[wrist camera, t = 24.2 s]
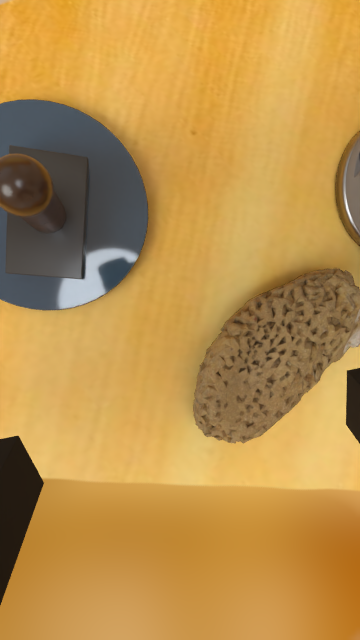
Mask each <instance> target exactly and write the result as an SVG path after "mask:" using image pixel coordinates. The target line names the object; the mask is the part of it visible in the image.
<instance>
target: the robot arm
mask: <svg viewBox="0 0 360 640" xmlns="http://www.w3.org/2000/svg"><path fill="white" fill-rule="evenodd" d="M336 201H337V207H338V211H339V214H340V217H341V220H342V222H343V224H344V226H345V228H346V230H347V231H348V233H349V235H350V236H351V237H352V238H353V240H354V241H355V242H356V243H357V244H359V245H360V131H359V132H358V133H357V134H356V135H355V136H354V137H353V139H352V140H351V141H350V143H349V144H348V146H347V147H346V149H345V151H344V153H343V155H342V158H341V160H340V163H339V167H338V171H337V176H336ZM346 425H347V426H348V428H349V429H350V431H351V432H352V433H353V435H354V436H355V438H356V439H357V440H358V442H359V443H360V368H358V369H353V370H348V371H347V403H346ZM43 484H44V483H43V480H42V478H41V477H40V475H39V473H38V471H37V469H36V467H35V465H34V464H33V462H32V460H31V458H30V456H29V454H28V453H27V451H26V449H25V447H24V445H23V443H22V441H21V440H20V438H19V436H14V437H9V438H4V439H0V605H1V602H2V599H3V596H4V593H5V590H6V588H7V585H8V582H9V579H10V577H11V573H12V571H13V568H14V565H15V563H16V560H17V557H18V554H19V551H20V548H21V546H22V543H23V540H24V537H25V534H26V531H27V529H28V526H29V523H30V520H31V518H32V515H33V512H34V509H35V506H36V503H37V501H38V497H39V495H40V492H41V489H42V487H43Z"/></svg>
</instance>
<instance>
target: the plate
mask: <svg viewBox="0 0 360 640" xmlns="http://www.w3.org/2000/svg"><path fill="white" fill-rule="evenodd" d="M9 145H12V146H18V147H25V148H31V149H38V150H44V151H50V152H57V153H63V154H70V155H76V156H83V157H88V162H89V183H88V203H87V223H86V243H85V262H84V279H72V278H59V277H47V276H34V275H21V274H9V273H6V272H5V270H6V234H7V212H6V211H5V210H3V209H2V208H1V207H0V299H1V300H3V301H5V302H8V303H11V304H13V305H16V306H20V307H25V308H29V309H36V310H62V309H69V308H74V307H77V306H81V305H84V304H87V303H89V302H91V301H94V300H96V299H98V298H100V297H101V296H103V295H105V294H106V293H108V292H109V291H110V290H112V289H113V288H114V287H116V286H117V285H118V284H119V283H120V282H121V281H122V280H123V279H124V278H125V277H126V275H127V274H128V273H129V271H130V270H131V269H132V267H133V266H134V264H135V262H136V260H137V259H138V257H139V255H140V252H141V250H142V247H143V244H144V241H145V237H146V233H147V225H148V203H147V196H146V191H145V187H144V184H143V180H142V178H141V175H140V173H139V170H138V168H137V166H136V164H135V162H134V161H133V159H132V157H131V155H130V154H129V153H128V151H127V150H126V148H125V147H124V146H123V144H122V143H121V142H120V141H119V140H118V139H117V138H116V137H115V135H114V134H113V133H111V132H110V131H109V130H108V129H107V128H106V127H105V126H103V125H102V124H101V123H99V122H98V121H96V120H95V119H93V118H92V117H90V116H89V115H87V114H85V113H83V112H81V111H79V110H77V109H74V108H71V107H69V106H66V105H63V104H59V103H55V102H51V101H44V100H16V101H10V102H4V103H1V104H0V158H1V157H3V156H5V155H8V154H9Z"/></svg>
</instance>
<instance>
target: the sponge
mask: <svg viewBox="0 0 360 640" xmlns="http://www.w3.org/2000/svg"><path fill="white" fill-rule="evenodd" d="M221 331H222V333H221V334H219V335H218V337H217V338H216V339H215V341H214V342H213V343H212V345H211V346H210V347H209V348H208V349H207V352H206V356H205V359H204V361H203V363H202V364H201V365H200V370H199V374H198V376H197V385H196V390H195V399H194V404H193V411H194V418H195V421H196V425H197V426H198V428H199V429H201V430H202V431H203V433H204V435H205V436H207V437H211V436H212V437H215V438H216V439H218V440H219V441H220V440H222V439H223V440H225V441H227V442H229V443H236V441H238V442H239V441H241V442H242V443H245V442H247V441H249V440H251V439H253V438H256V437H259V436H261V435H262V434H263V433H265V432H266V431H267V430H268V429H269V428H271V427H272V426H273V425H274V424H275V423H276V422H277V421H278V420H280V419H281V418H282V417H283V416H284V415H285V414H286V413H288V412H289V411H290V410H291V409H292V408H293V407H294V406H295V405H296V404H297V403H298V402H299V401H300V400H301V397H302V396H303V395H304V393H306V392H308V391H309V390H310V389H311V388H312V387H313V386H314V385H315V384H317V383H318V381H319V380H320V378H321V375H322V373H323V372H324V370H325V369H326V368H327V367H328V366H329V365H330V364H331V363H332V362H336V361H338V360H340V358H341V357H342V356H343V355H344V354H345V352H346V351H347V350H348V349H349V348H350V347H358V346H359V344H360V290H359V287H357V286H355V284H354V280H353V277H352V275H351V274H350V273H349V272H347V271H346V270H345V271H344V272H343V271H342V270H340V269H338V268H333V269H324V270H317V271H313V272H310V273H307V274H304V275H301V276H299V277H298V278H296V279H295V280H293V281H291V282H289V283H287V284H285V285H283V286H280V287H277V288H274V289H273V290H271V291H268V292H265V293H262V294H260V295H258V296H256V297H254V298H252V299H250V300H249V301H248V302H247V303H246V304H245V305H244V306H243V307H242V308H241V309H240V310H239V311H238V312H236V313H235V314H234V315H233V316H232V317H231V318H230V319H229V320H228V321H227V322H225V324H224V326H223V327H222V329H221Z"/></svg>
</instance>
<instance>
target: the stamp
mask: <svg viewBox="0 0 360 640" xmlns="http://www.w3.org/2000/svg"><path fill="white" fill-rule="evenodd" d="M88 183H89V162H88V157H83V156H76V155H70V154H63V153H57V152H50V151H44V150H38V149H31V148H25V147H18V146H12V145H9V154H8V155H5V156H3V157H1V158H0V207H1V208H2V209H3V210H5V211H6V212H7V234H6V270H5V272H6V273H9V274H21V275H34V276H47V277H59V278H72V279H84V262H85V243H86V223H87V203H88Z"/></svg>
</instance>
